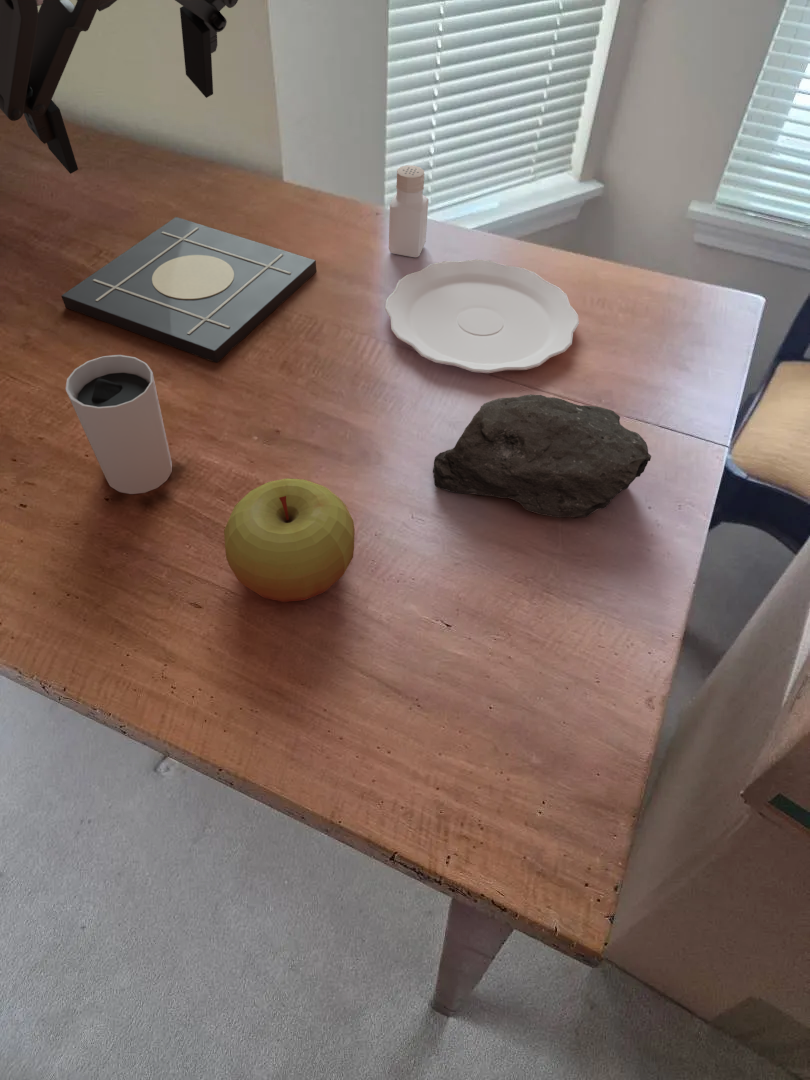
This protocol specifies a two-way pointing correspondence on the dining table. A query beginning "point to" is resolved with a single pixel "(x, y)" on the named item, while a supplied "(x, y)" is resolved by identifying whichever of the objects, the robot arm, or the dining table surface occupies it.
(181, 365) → the dining table surface
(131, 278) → the board
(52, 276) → the dining table surface
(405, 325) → the plate
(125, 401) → the white cup
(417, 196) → the salt shaker
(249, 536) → the apple
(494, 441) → the stone
